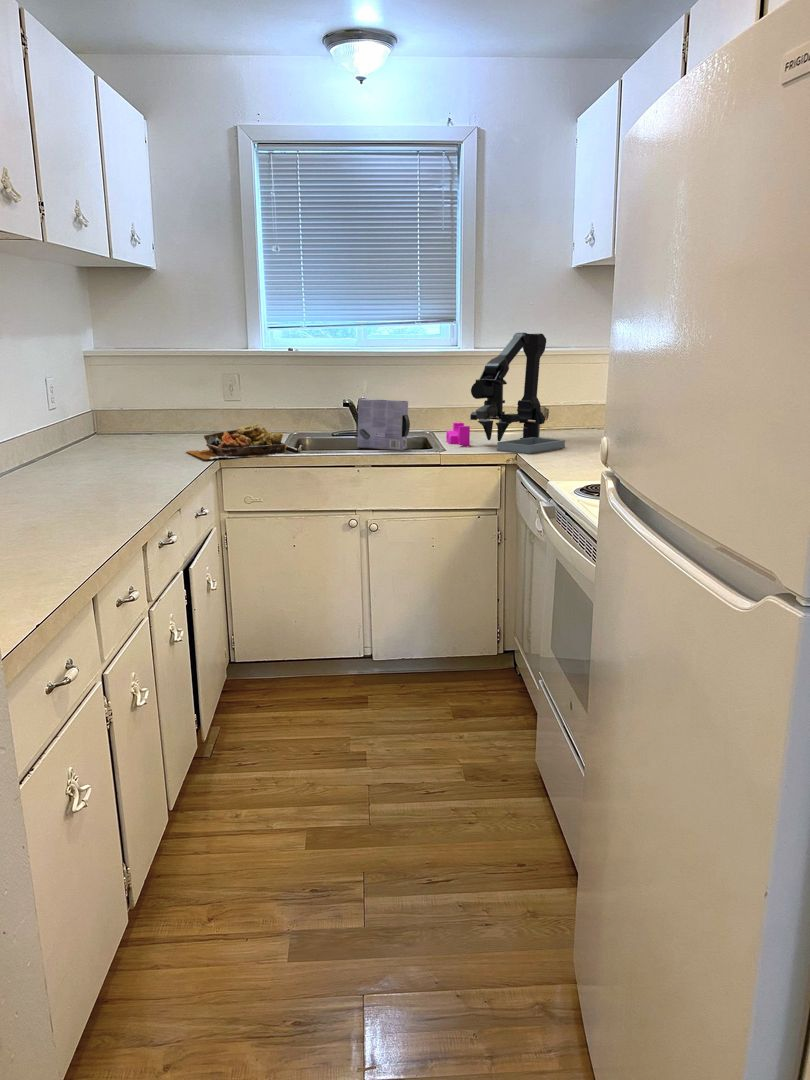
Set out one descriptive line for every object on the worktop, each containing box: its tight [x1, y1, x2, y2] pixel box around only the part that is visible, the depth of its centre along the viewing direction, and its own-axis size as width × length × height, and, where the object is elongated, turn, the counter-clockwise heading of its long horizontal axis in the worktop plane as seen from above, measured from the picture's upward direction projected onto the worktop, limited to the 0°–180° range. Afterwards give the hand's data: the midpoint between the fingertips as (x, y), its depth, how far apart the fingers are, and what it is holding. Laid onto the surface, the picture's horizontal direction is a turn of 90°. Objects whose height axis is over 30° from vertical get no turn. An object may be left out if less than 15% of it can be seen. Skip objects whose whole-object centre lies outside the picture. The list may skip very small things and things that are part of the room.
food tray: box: [185, 423, 303, 460], centre depth 281 cm, size 35×26×11 cm
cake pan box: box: [357, 398, 411, 451], centre depth 287 cm, size 19×5×18 cm, turn 65°
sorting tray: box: [496, 437, 566, 455], centre depth 284 cm, size 21×14×3 cm, turn 135°
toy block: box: [445, 422, 471, 448], centre depth 301 cm, size 15×6×8 cm, turn 6°
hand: (494, 440), depth 294 cm, fingers open, 4 cm apart
